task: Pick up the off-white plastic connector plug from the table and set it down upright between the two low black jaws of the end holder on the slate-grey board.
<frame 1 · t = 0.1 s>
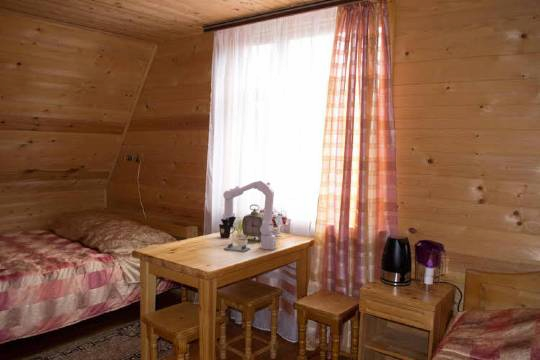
hand: (228, 228, 302), 10 cm above the table, tool pointing down, fingers open, 7 cm apart
coffee mug: (226, 238, 319), on the table
connector plug: (242, 245, 297), on the table
tabletop clock: (253, 240, 314), on the table
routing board: (237, 249, 286), on the table
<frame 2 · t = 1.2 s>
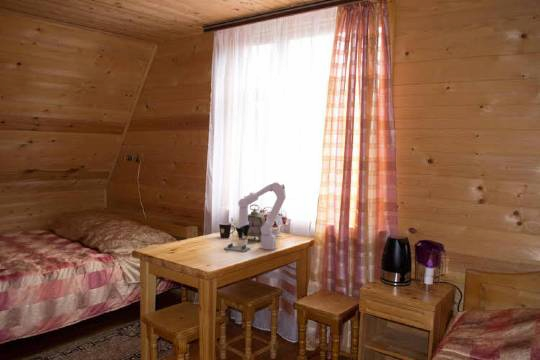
hand: (242, 237, 296), 6 cm above the table, tool pointing down, fingers open, 7 cm apart
nothing on the table moved.
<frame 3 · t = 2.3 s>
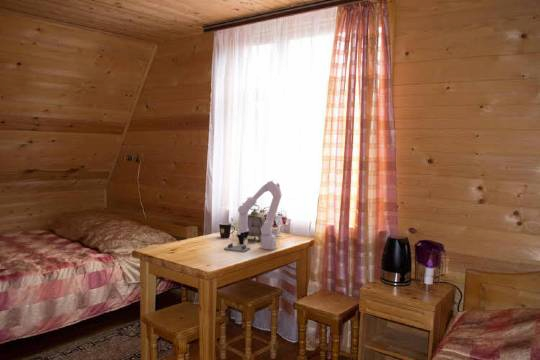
hand: (242, 243, 297), 1 cm above the table, tool pointing down, fingers closed on connector plug, 4 cm apart
connector plug: (242, 245, 297), on the table, touching gripper
everything else where it was.
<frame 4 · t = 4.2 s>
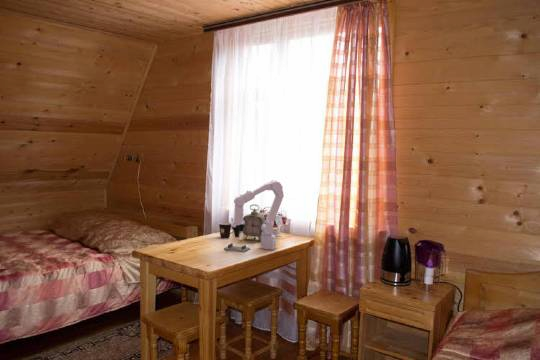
hand: (238, 236, 288), 8 cm above the table, tool pointing down, fingers closed on connector plug, 4 cm apart
connector plug: (238, 238, 289), point 6 cm above the table, touching gripper
everything else where it was.
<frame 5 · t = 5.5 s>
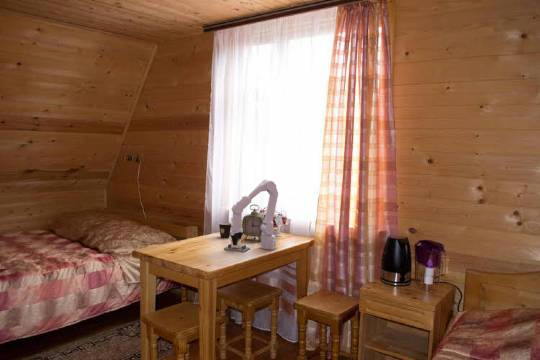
hand: (236, 244, 286), 3 cm above the table, tool pointing down, fingers closed on connector plug, 4 cm apart
connector plug: (236, 246, 286), point 2 cm above the table, touching gripper
everything else where it was.
when the fingers open (3 cm above the table, at t = 6.3 s): connector plug stays where it is, resting on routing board.
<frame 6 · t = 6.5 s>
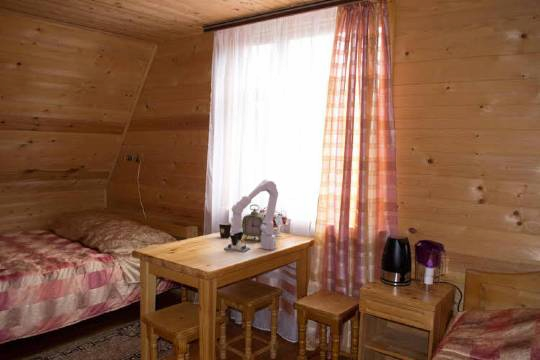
hand: (236, 244, 286), 3 cm above the table, tool pointing down, fingers open, 6 cm apart
connector plug: (236, 247, 286), point 1 cm above the table, touching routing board
everything else where it was.
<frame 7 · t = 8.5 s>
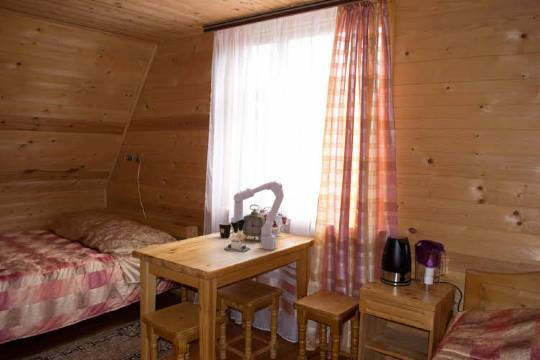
hand: (238, 231, 295), 9 cm above the table, tool pointing down, fingers open, 7 cm apart
nothing on the table moved.
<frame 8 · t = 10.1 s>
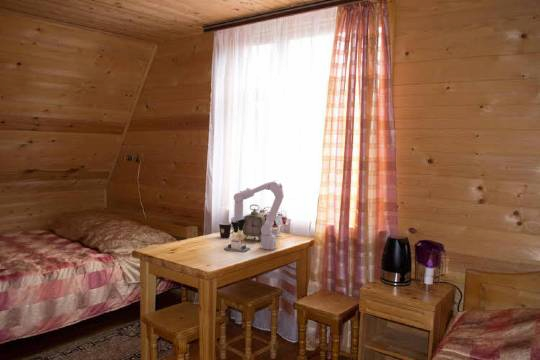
hand: (238, 231, 296), 9 cm above the table, tool pointing down, fingers open, 7 cm apart
nothing on the table moved.
at the end: connector plug 0.6 cm off-centre on the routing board, point 1.0 cm above the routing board's base; connector plug tilted 0°; the gripper is holding nothing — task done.
